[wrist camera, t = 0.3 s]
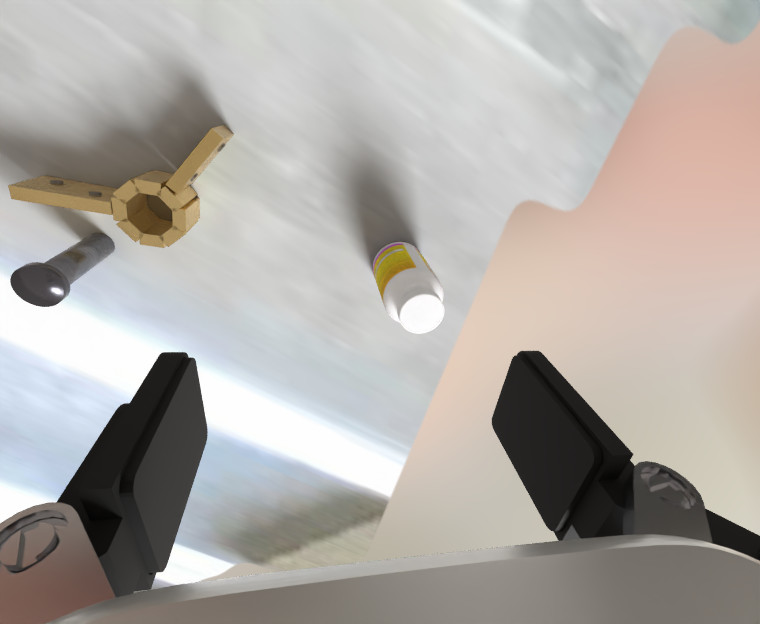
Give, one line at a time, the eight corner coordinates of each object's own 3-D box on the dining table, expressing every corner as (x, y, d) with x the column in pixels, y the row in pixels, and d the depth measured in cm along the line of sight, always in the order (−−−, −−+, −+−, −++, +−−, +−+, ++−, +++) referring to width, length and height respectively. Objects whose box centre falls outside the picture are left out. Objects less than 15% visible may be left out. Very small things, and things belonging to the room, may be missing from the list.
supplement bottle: (363, 278, 48) (378, 331, 37) (384, 232, 45) (406, 275, 34) (408, 293, 50) (434, 348, 39) (431, 250, 47) (465, 296, 36)
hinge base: (38, 148, 36) (0, 154, 31) (199, 178, 39) (184, 188, 35) (51, 212, 39) (18, 226, 34) (199, 235, 42) (186, 251, 38)
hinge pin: (78, 224, 40) (5, 263, 30) (118, 230, 41) (59, 270, 31) (84, 257, 41) (16, 303, 32) (122, 262, 42) (67, 309, 33)
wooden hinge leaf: (193, 184, 39) (178, 195, 35) (180, 173, 39) (163, 183, 34) (234, 135, 38) (224, 140, 33) (222, 123, 37) (210, 126, 33)
